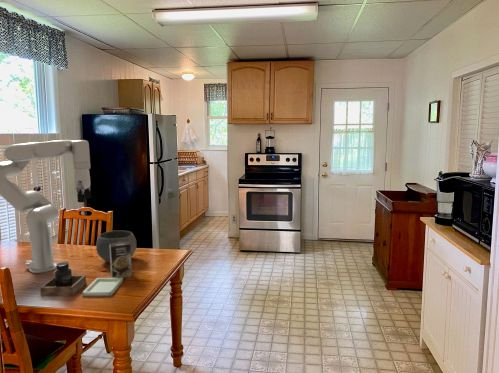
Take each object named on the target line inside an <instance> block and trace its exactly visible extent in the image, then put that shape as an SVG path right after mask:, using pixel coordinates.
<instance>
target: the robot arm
mask: <svg viewBox="0 0 499 373" xmlns="http://www.w3.org/2000/svg"><path fill="white" fill-rule="evenodd" d="M3 154H4V157H5V159H7V160H5V161H0V196H1V197H2V198H3V199H4V200H5V201H6V202H7V203H9V204H10V206H12V207H13V208H14V209H15V211H16V210H17V211H18V212H20V213H23V212H28V213H27V214H26V216H25V222H26V226H27V228H28V229H27V230H28V234H29V241H30V242H29V244H30V253H31V254H30V255H31V260H25V261H24V262H25V263H24V266H29V272H30V273H33V274H40V273H41V274H42V273H43V274H44V273H48V272H50V271H53V270H55V269H56V268H57V267H56V265H57V264H58V263H56V262H54V252H53V250H54V249H53V242H52V241H53V240H52V232H51V229H50V227H49V225H48V224H51V223H53V222H55V221H56V220H58V218H59V215H60V212H59V209H58V208H57V206H55V204H54V203H53V202H51V200H49V199H48V198H47V197H45V195H44V194H42V193H41V192H39V191H37V190H28V191H27V190H26V191H25V190H23V189H22V188H21V187H20V186H19V185H18V184H16V183H15V182H12V181H11V180H9V179H11V178H15V177H19V175H20V174H22V172H23V171H24V170H25V169H26V167H27V166H28V165H29V164H30V162H31V161H36V160H37V161H38V160H42V159H48V158H56V157H57V158H58V157H65V156H72V162H73V163H72V165H73V170H74V178H73V179H74V189H75V190H76V194H77V195H76V196H77V203H85V202H86V200H87V199H89V200H90V199H91V198H92V195H91V176H90V175H91V174H90V169H91V156H90V155H91V154H90V144H89V141H88V140H85V139H81V140H80V139H77V140H74V139H73V140H71V139H59V140H50V141H49V140H48V141H41V142H38V141H33V142H24V143H16V144H15V143H14V144H10V145H8V146H7V147H5V149H4V152H3Z"/></svg>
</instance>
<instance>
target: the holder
mask: <svg viewBox="0 0 499 373" xmlns="http://www.w3.org/2000/svg"><path fill="white" fill-rule="evenodd" d="M72 282H73V285H72V286H71V287H56V286H55V276H53V277H52V278H50V279H49V280H48V281H47V282H46V283H44V284H43V285H41V287H39V288H40V289H39V290H40V291H39V292H40V297H74V296H75V295H76V294H77V293H79V292H80V290H81V289H83V287H84V286H85V285H86V284H87V276H86V274H82V275H81V274H77V275H76V274H75V275H73V274H72Z"/></svg>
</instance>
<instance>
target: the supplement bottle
mask: <svg viewBox="0 0 499 373" xmlns="http://www.w3.org/2000/svg"><path fill="white" fill-rule="evenodd" d="M56 264H57V265H56V267H57V268H55V269H56V270H55V271H54V277H55V287H71V286H72V285H74V284H73V282H72V275H73V271H72V269H71V268H70V266H69V265H70V264H69V262H67V261H64V262H63V261H61V262H58V263H56Z"/></svg>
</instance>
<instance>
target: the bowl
mask: <svg viewBox="0 0 499 373" xmlns="http://www.w3.org/2000/svg"><path fill="white" fill-rule="evenodd" d="M127 241H128V242H129V243H130V248H131V258H132V257H133V256H134V254H135V252H136V251H137V244H138V243H137V239H136V237H135V234H133V232H132V231H129V230H110V231H105V232H103V233H101V234H100V235H99V236H98V237H97V239H96V243H95V244H96V245H95V247H96V248H95V249H96V253H97V255H98V256H99V257H100V258H101V259H102V261H104V262H108V263H109V264H110V248H109V244H111V243H119V242H127Z"/></svg>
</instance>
